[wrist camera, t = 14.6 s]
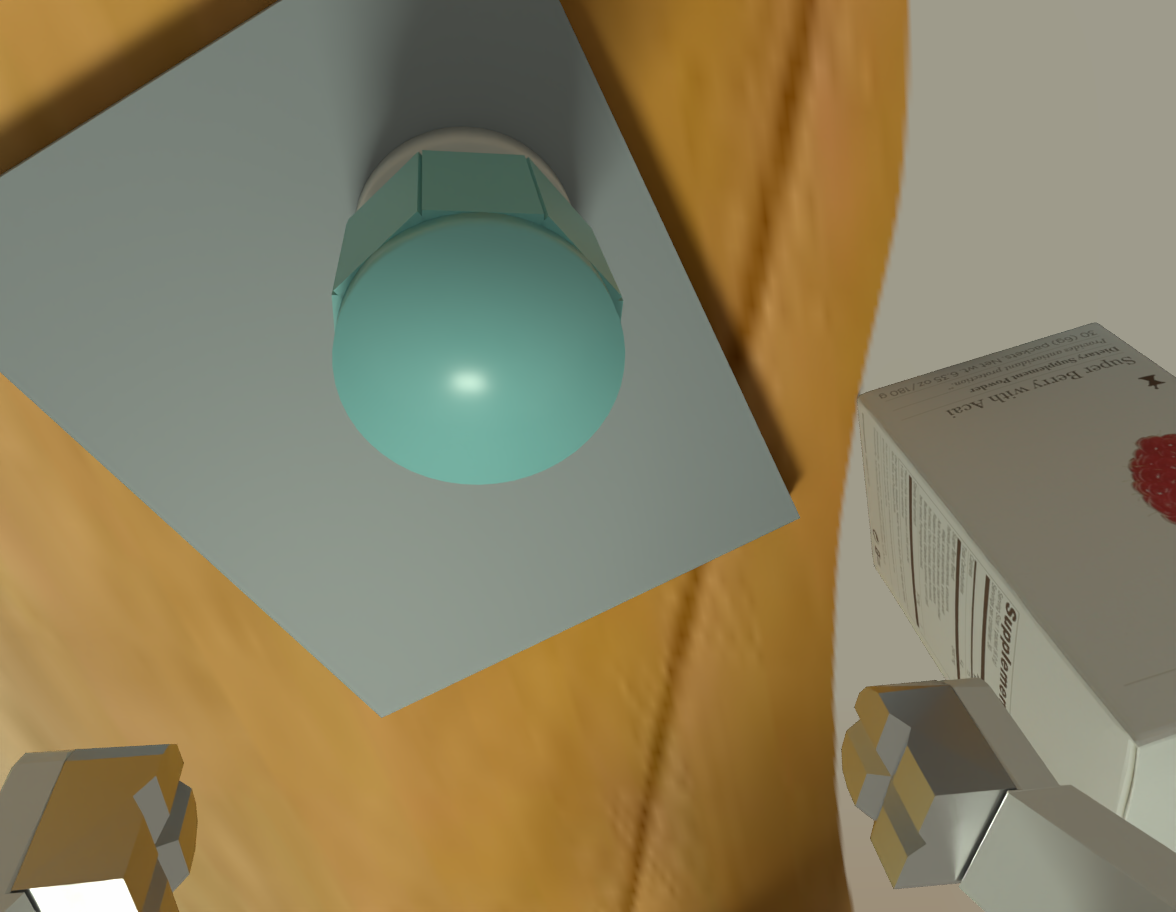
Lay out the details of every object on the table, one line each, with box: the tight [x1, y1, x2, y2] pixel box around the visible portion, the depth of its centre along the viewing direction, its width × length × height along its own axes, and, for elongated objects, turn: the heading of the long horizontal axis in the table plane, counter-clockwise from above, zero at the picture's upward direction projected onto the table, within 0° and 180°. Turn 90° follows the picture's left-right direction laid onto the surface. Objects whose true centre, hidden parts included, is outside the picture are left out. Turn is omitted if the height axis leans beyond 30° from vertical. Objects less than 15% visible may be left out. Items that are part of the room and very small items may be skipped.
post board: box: [0, 0, 800, 718], centre depth 24 cm, size 22×18×8 cm
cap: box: [332, 150, 625, 485], centre depth 19 cm, size 6×6×5 cm
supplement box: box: [857, 323, 1176, 853], centre depth 27 cm, size 9×9×15 cm
